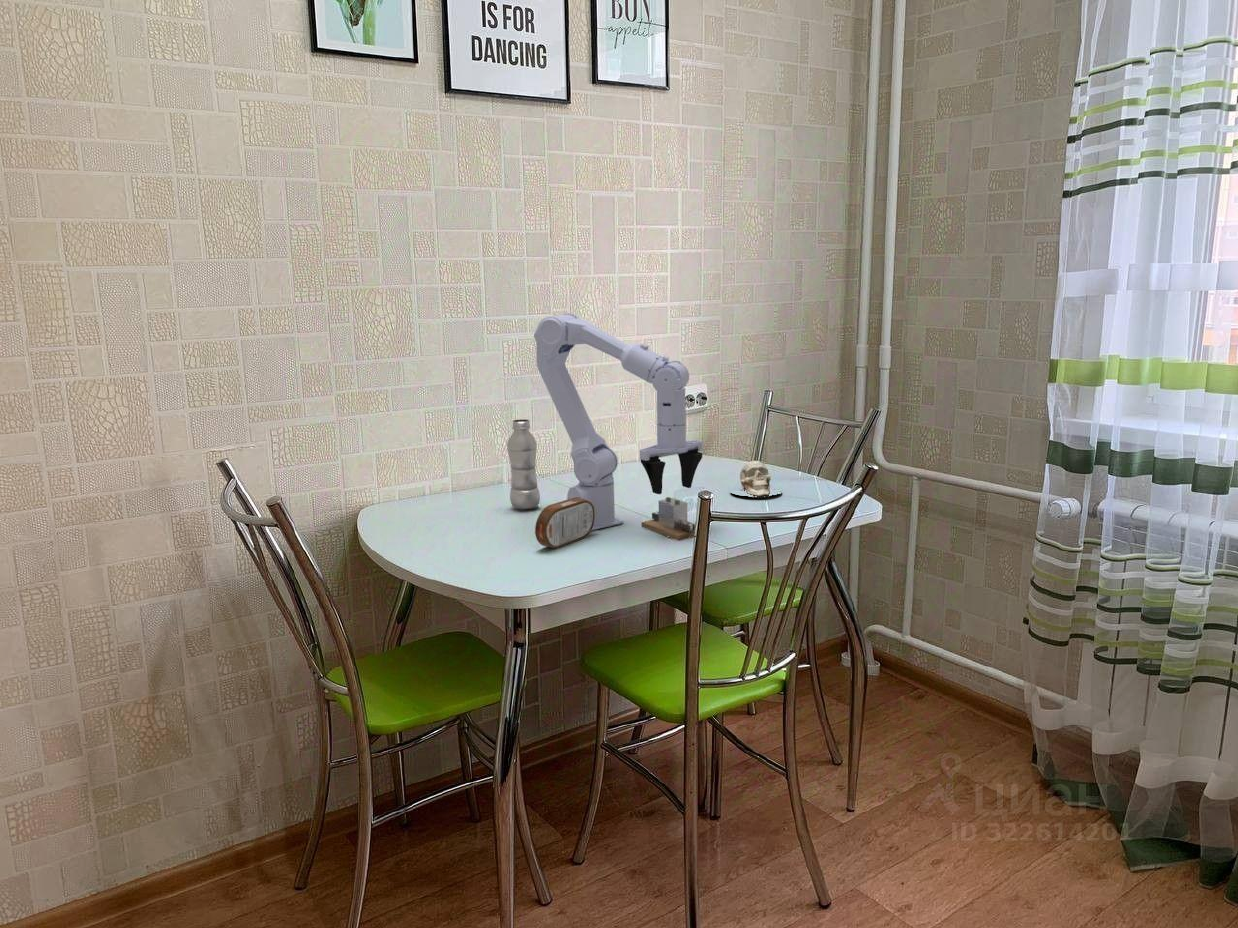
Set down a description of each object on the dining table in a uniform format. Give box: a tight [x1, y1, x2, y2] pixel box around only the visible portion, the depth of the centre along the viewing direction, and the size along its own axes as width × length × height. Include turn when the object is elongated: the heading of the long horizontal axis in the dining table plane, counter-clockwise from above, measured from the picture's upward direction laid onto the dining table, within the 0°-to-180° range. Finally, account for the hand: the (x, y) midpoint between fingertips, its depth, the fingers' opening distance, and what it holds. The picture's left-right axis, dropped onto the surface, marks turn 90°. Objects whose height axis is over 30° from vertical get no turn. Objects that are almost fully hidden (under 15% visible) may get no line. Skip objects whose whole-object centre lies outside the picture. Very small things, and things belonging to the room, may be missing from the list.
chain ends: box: [651, 511, 696, 532], centre depth 187 cm, size 2×12×2 cm, turn 35°
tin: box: [534, 497, 595, 549], centre depth 180 cm, size 15×3×8 cm, turn 141°
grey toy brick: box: [658, 496, 689, 530], centre depth 186 cm, size 4×5×6 cm
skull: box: [739, 460, 772, 498], centre depth 213 cm, size 12×12×8 cm
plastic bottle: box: [506, 418, 541, 511], centre depth 203 cm, size 6×7×20 cm
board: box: [641, 519, 697, 541], centre depth 187 cm, size 7×12×1 cm, turn 35°
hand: (672, 490), depth 185 cm, fingers open, 7 cm apart
